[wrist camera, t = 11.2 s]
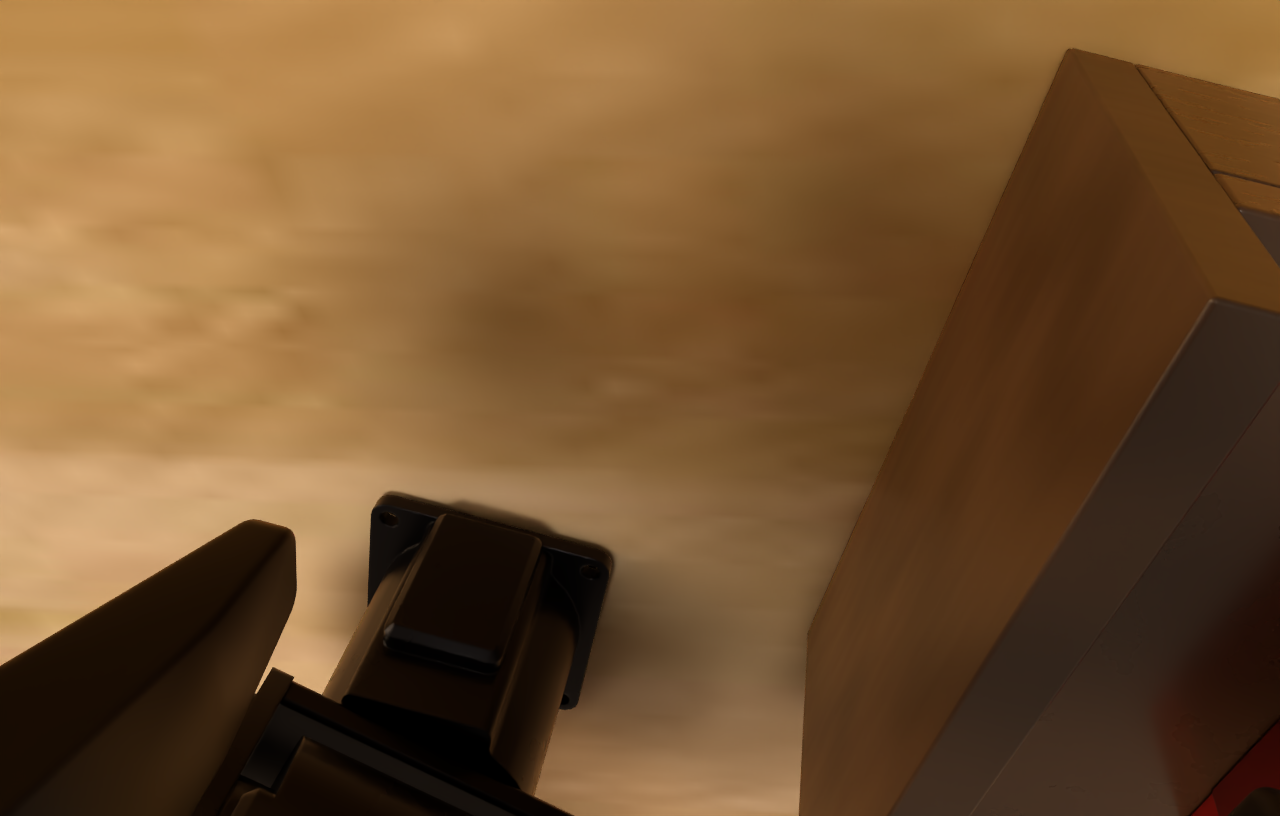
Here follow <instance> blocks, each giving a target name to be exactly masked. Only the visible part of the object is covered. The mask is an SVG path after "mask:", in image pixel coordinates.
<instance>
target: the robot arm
mask: <svg viewBox="0 0 1280 816" xmlns="http://www.w3.org/2000/svg"><path fill="white" fill-rule="evenodd" d="M388 512H390V513H392V514H394V515H395V516H393V515H391V514H389V513H388ZM587 565H591V566H594V567H596V568H597V569H594V568H590V567H588V566H587ZM611 568H612V561H611V559H610V557H609V556H608V555H607V554H606V553H605V552H603V551H601V550H599V549H596V548H592V547H588V546H585V545H581V544H577V543H573V542H569V541H566V540H562V539H558V538H554V537H550V536H547V535H543V534H539V533H535V532H531V531H528V530H524V529H520V528H516V527H512V526H509V525H505V524H501V523H497V522H493V521H490V520H486V519H482V518H478V517H474V516H471V515H467V514H463V513H459V512H455V511H452V510H448V509H444V508H440V507H436V506H433V505H429V504H425V503H421V502H417V501H414V500H410V499H406V498H402V497H398V496H393V495H386V496H382V497H381V498H380V499H379V500H378V501H377V503H376V505H375V506H374V508H373V510H372V513H371V529H370V555H369V580H368V606H367V610H366V612H365V613H364V615H363V617H362V619H361V621H360V623H359V625H358V627H357V629H356V631H355V633H354V635H353V636H352V638H351V640H350V642H349V644H348V646H347V648H346V650H345V652H344V654H343V656H342V657H341V659H340V661H339V663H338V665H337V667H336V669H335V671H334V673H333V675H332V677H331V679H330V680H329V682H328V684H327V686H326V688H325V690H324V692H323V694H322V695H321V694H319V693H317V692H315V691H313V690H311V689H308V688H306V687H304V686H302V685H300V684H298V683H296V682H294V681H292V680H293V679H294V677H293V676H291V675H289V674H287V673H285V672H283V671H281V670H278V669H276V668H274V667H273V668H272V669H271V671H270V673H269V674H268V676H267V678H266V679H265V681H264V683H263V684H262V686H261V688H260V689H259V691H258V693H257V694H255V691H256V689H257V687H258V685H259V682H260V680H261V678H262V676H263V673H264V671H265V669H266V667H267V665H268V662H269V660H270V658H271V656H272V653H273V651H274V649H275V647H276V645H277V642H278V640H279V638H280V636H281V633H282V631H283V629H284V627H285V624H286V622H287V620H288V618H289V616H290V613H291V611H292V608H293V605H294V601H295V597H296V591H297V578H296V541H295V536H294V534H293V532H292V531H291V529H288V528H287V527H283V526H280V525H276V524H272V523H268V522H264V521H261V520H255V519H252V520H247V521H244V522H242V523H240V524H238V525H237V526H235V527H233V528H232V529H230V530H228V531H227V532H225V533H223V534H221V535H220V536H218V537H216V538H215V539H213V540H211V541H210V542H208V543H206V544H205V545H203V546H201V547H200V548H198V549H196V550H195V551H193V552H191V553H189V554H188V555H186V556H184V557H183V558H181V559H179V560H178V561H176V562H174V563H173V564H171V565H169V566H168V567H166V568H164V569H163V570H161V571H159V572H158V573H156V574H154V575H152V576H151V577H149V578H147V579H146V580H144V581H142V582H141V583H139V584H137V585H136V586H134V587H132V588H131V589H129V590H127V591H126V592H124V593H122V594H120V595H119V596H117V597H115V598H114V599H112V600H110V601H109V602H107V603H105V604H104V605H102V606H100V607H99V608H97V609H95V610H94V611H92V612H90V613H88V614H87V615H85V616H83V617H82V618H80V619H78V620H77V621H75V622H73V623H72V624H70V625H68V626H67V627H65V628H63V629H62V630H60V631H58V632H57V633H55V634H53V635H51V636H50V637H48V638H46V639H45V640H43V641H41V642H40V643H38V644H36V645H35V646H33V647H31V648H30V649H28V650H26V651H25V652H23V653H21V654H19V655H18V656H16V657H14V658H13V659H11V660H9V661H8V662H6V663H4V664H3V665H1V666H0V816H574V815H572V814H570V813H567V812H565V811H563V810H561V809H559V808H557V807H555V806H553V805H551V804H549V803H547V802H544V801H542V800H540V799H538V798H536V797H534V794H535V791H536V787H537V784H538V780H539V777H540V773H541V770H542V766H543V763H544V759H545V756H546V752H547V749H548V745H549V742H550V738H551V735H552V731H553V728H554V724H555V721H556V717H557V714H558V710H559V709H563V710H568V709H572V708H574V707H576V705H577V703H578V700H579V696H580V692H581V688H582V684H583V680H584V676H585V672H586V668H587V664H588V660H589V656H590V652H591V648H592V644H593V640H594V636H595V632H596V628H597V624H598V620H599V616H600V612H601V608H602V604H603V600H604V596H605V592H606V588H607V584H608V580H609V576H610V572H611ZM1228 816H1280V790H1279V789H1275V788H1271V787H1261V788H1257V789H1255V790H1253V791H1252V792H1251V793H1250V794H1249V795H1248V796H1247V797H1246V798H1245V799H1244V800H1243V801H1242V802H1241V803H1240V804H1239V805H1238V806H1237V807H1236V808H1235V809H1234V810H1233V811H1232V812H1231V813H1230V814H1229V815H1228Z"/></svg>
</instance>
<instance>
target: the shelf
mask: <svg viewBox="0 0 1280 816" xmlns="http://www.w3.org/2000/svg"><path fill="white" fill-rule="evenodd" d="M1279 719H1280V99H1276V98H1272V97H1268V96H1264V95H1260V94H1256V93H1252V92H1247V91H1243V90H1239V89H1235V88H1231V87H1227V86H1223V85H1219V84H1215V83H1211V82H1207V81H1203V80H1199V79H1195V78H1191V77H1187V76H1183V75H1179V74H1175V73H1171V72H1167V71H1163V70H1159V69H1155V68H1151V67H1147V66H1143V65H1135V66H1134V65H1133V64H1132V63H1130V62H1126V61H1122V60H1118V59H1114V58H1110V57H1106V56H1102V55H1098V54H1093V53H1089V52H1085V51H1081V50H1077V49H1069V50H1068V51H1067V52H1066V55H1065V57H1064V59H1063V61H1062V64H1061V66H1060V68H1059V70H1058V73H1057V75H1056V77H1055V79H1054V82H1053V84H1052V86H1051V88H1050V91H1049V93H1048V95H1047V97H1046V100H1045V102H1044V104H1043V106H1042V108H1041V111H1040V113H1039V115H1038V117H1037V120H1036V122H1035V124H1034V126H1033V129H1032V131H1031V133H1030V135H1029V138H1028V140H1027V142H1026V144H1025V147H1024V149H1023V151H1022V153H1021V156H1020V158H1019V160H1018V162H1017V165H1016V167H1015V169H1014V171H1013V174H1012V176H1011V178H1010V180H1009V182H1008V185H1007V187H1006V189H1005V191H1004V194H1003V196H1002V198H1001V200H1000V203H999V205H998V207H997V209H996V212H995V214H994V216H993V218H992V221H991V223H990V225H989V227H988V230H987V232H986V234H985V236H984V239H983V241H982V243H981V245H980V248H979V250H978V252H977V254H976V257H975V259H974V261H973V263H972V265H971V268H970V270H969V272H968V274H967V277H966V279H965V281H964V283H963V286H962V288H961V290H960V292H959V295H958V297H957V299H956V301H955V304H954V306H953V308H952V310H951V313H950V315H949V317H948V319H947V322H946V324H945V326H944V328H943V331H942V333H941V335H940V337H939V340H938V342H937V344H936V346H935V348H934V351H933V353H932V355H931V357H930V360H929V362H928V364H927V366H926V369H925V371H924V373H923V375H922V378H921V380H920V382H919V384H918V387H917V389H916V391H915V393H914V396H913V398H912V400H911V402H910V405H909V407H908V409H907V411H906V414H905V416H904V418H903V420H902V423H901V425H900V427H899V429H898V431H897V434H896V436H895V438H894V440H893V443H892V445H891V447H890V449H889V452H888V454H887V456H886V458H885V461H884V463H883V465H882V467H881V470H880V472H879V474H878V476H877V479H876V481H875V483H874V485H873V488H872V490H871V492H870V494H869V497H868V499H867V501H866V503H865V505H864V508H863V510H862V512H861V514H860V517H859V519H858V521H857V523H856V526H855V528H854V530H853V532H852V535H851V537H850V539H849V541H848V544H847V546H846V548H845V550H844V553H843V555H842V557H841V559H840V562H839V564H838V566H837V568H836V571H835V573H834V575H833V577H832V580H831V582H830V584H829V586H828V588H827V591H826V593H825V595H824V597H823V600H822V602H821V604H820V606H819V609H818V611H817V613H816V615H815V618H814V620H813V622H812V624H811V627H810V629H809V631H808V637H807V658H806V679H805V699H804V720H803V740H802V761H801V781H800V802H799V816H1191V815H1192V814H1193V813H1194V812H1195V811H1196V810H1197V809H1198V807H1199V806H1200V805H1201V804H1202V803H1203V802H1204V801H1205V800H1206V799H1207V798H1208V797H1209V796H1210V795H1211V794H1212V790H1213V789H1214V788H1215V787H1216V786H1217V784H1218V783H1219V782H1220V781H1221V780H1222V779H1223V778H1224V777H1225V776H1226V775H1227V774H1228V773H1229V772H1230V771H1231V770H1232V769H1233V768H1234V767H1235V766H1236V765H1237V763H1238V762H1239V761H1240V760H1241V759H1242V758H1243V757H1244V756H1245V755H1246V754H1247V753H1248V752H1249V751H1250V750H1251V749H1252V748H1253V747H1254V746H1255V745H1256V744H1257V743H1258V741H1259V740H1260V739H1261V738H1262V737H1263V736H1264V735H1265V734H1266V733H1267V732H1268V731H1269V730H1270V729H1271V728H1272V727H1273V726H1274V725H1275V724H1276V723H1277V722H1278V720H1279Z"/></svg>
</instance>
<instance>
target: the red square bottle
mask: <svg viewBox="0 0 1280 816" xmlns="http://www.w3.org/2000/svg"><path fill="white" fill-rule="evenodd" d="M1261 787H1271V788H1275V789H1279V790H1280V719H1279V720H1278V722H1277V723H1276V724H1275V725H1274V726H1273V727H1272V728H1271V729H1270V730H1269V731H1268V732H1267V733H1266V734H1265V735H1264V736H1263V737H1262V738H1261V739H1260V740H1259V741H1258V743H1257V744H1256V745H1255V746H1254V747H1253V748H1252V749H1251V750H1250V751H1249V752H1248V753H1247V754H1246V755H1245V756H1244V757H1243V758H1242V759H1241V760H1240V761H1239V762H1238V763H1237V765H1236V766H1235V767H1234V768H1233V769H1232V770H1231V771H1230V772H1229V773H1228V774H1227V775H1226V776H1225V777H1224V778H1223V779H1222V780H1221V781H1220V782H1219V783H1218V784H1217V786H1216V787H1215V788H1214V789H1213V790H1212V794H1211V795H1210V796H1209V797H1208V798H1207V799H1206V800H1205V801H1204V802H1203V803H1202V804H1201V805H1200V806H1199V807H1198V809H1197V810H1196V811H1195V812H1194V813H1193V814H1192V815H1191V816H1228V815H1229V814H1230V813H1231V812H1232V811H1233V810H1234V809H1235V808H1236V807H1237V806H1238V805H1239V804H1240V803H1241V802H1242V801H1243V800H1244V799H1245V798H1246V797H1247V796H1248V795H1249V794H1250V793H1251V792H1252V791H1253V790H1255V789H1257V788H1261Z"/></svg>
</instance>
